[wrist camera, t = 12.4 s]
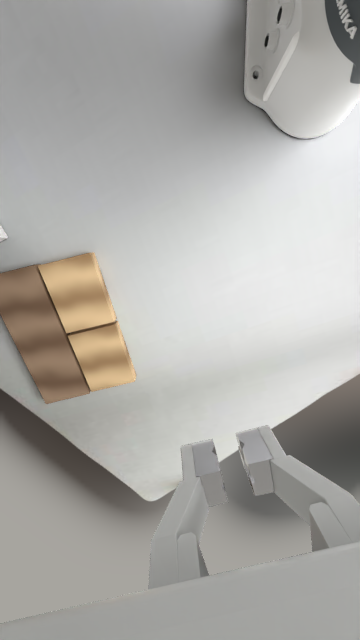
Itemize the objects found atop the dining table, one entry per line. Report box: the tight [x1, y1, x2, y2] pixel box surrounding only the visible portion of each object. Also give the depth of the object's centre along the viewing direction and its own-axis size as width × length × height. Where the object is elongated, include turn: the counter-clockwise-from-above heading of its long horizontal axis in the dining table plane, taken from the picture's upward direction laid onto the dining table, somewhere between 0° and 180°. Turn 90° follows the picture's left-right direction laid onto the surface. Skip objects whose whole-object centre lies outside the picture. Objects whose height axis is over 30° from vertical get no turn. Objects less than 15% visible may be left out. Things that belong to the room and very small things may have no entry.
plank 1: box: [38, 253, 116, 333], centre depth 35 cm, size 11×8×2 cm
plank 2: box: [68, 321, 136, 392], centre depth 39 cm, size 11×8×2 cm
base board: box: [0, 264, 91, 404], centre depth 37 cm, size 23×8×2 cm, turn 13°
